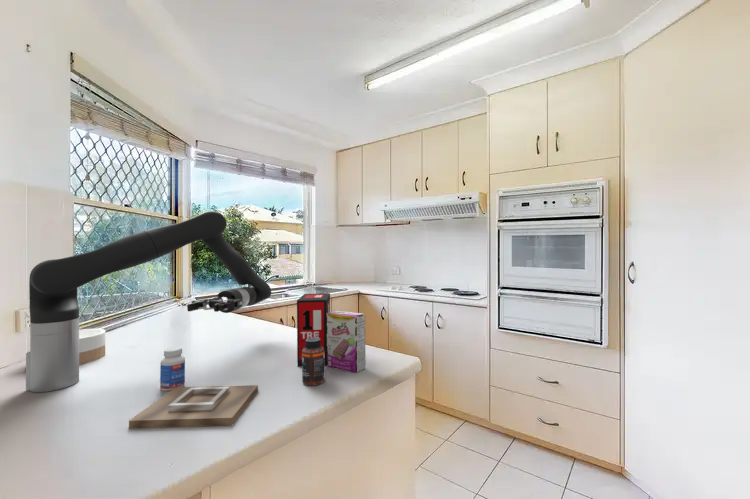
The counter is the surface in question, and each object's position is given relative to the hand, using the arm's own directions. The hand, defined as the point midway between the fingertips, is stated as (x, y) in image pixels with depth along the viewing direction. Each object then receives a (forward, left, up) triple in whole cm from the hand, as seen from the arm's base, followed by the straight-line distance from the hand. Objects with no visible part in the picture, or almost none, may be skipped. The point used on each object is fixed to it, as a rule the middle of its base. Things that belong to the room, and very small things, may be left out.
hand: (201, 308), depth 95 cm
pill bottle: (-2, -11, -19) cm, 22 cm away
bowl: (-49, +14, -19) cm, 54 cm away
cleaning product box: (+31, +11, -19) cm, 38 cm away
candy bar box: (+42, 0, -19) cm, 46 cm away
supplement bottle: (+34, -10, -19) cm, 40 cm away
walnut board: (+11, -23, -18) cm, 31 cm away
